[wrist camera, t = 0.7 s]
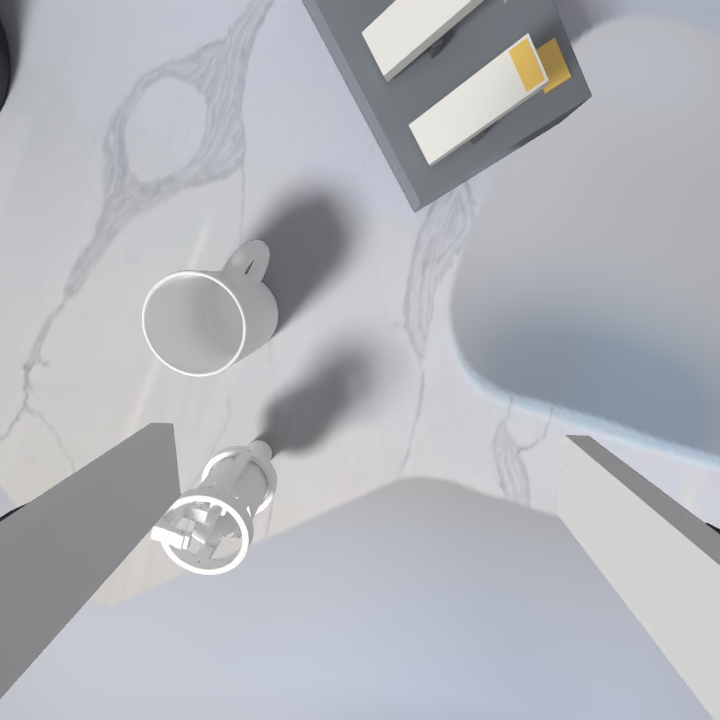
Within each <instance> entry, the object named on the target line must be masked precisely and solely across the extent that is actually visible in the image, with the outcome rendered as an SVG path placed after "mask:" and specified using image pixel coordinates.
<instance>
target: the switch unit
mask: <svg viewBox="0 0 720 720" xmlns="http://www.w3.org/2000/svg"><path fill="white" fill-rule="evenodd" d="M302 1H303V3H304V5H305V7H306V9H307V11H308V13H309V14H310V16H311V18H312V20H313V22H314V24H315V26H316V28H317V30H318V31H319V33H320V35H321V37H322V39H323V41H324V43H325V45H326V47H327V48H328V50H329V52H330V54H331V56H332V58H333V60H334V62H335V64H336V65H337V67H338V69H339V71H340V73H341V75H342V77H343V79H344V80H345V82H346V84H347V86H348V88H349V90H350V92H351V94H352V96H353V97H354V99H355V101H356V103H357V105H358V107H359V109H360V111H361V113H362V114H363V116H364V118H365V120H366V122H367V124H368V126H369V128H370V130H371V131H372V133H373V135H374V137H375V139H376V141H377V143H378V145H379V147H380V148H381V150H382V152H383V154H384V156H385V158H386V160H387V162H388V164H389V165H390V167H391V169H392V171H393V173H394V175H395V177H396V179H397V181H398V182H399V184H400V186H401V188H402V190H403V192H404V194H405V196H406V198H407V199H408V201H409V203H410V205H411V207H412V209H413V211H414V213H415V212H417V211H418V210H420V209H422V208H423V207H425V206H426V205H428V204H430V203H431V202H433V201H435V200H436V199H438V198H439V197H441V196H443V195H444V194H446V193H447V192H449V191H451V190H452V189H454V188H455V187H457V186H459V185H460V184H462V183H464V182H465V181H467V180H468V179H470V178H472V177H473V176H475V175H476V174H478V173H480V172H481V171H483V170H485V169H486V168H488V167H489V166H491V165H493V164H494V163H496V162H497V161H499V160H501V159H502V158H504V157H505V156H507V155H509V154H510V153H512V152H514V151H515V150H517V149H518V148H520V147H521V146H523V145H525V144H526V143H528V142H530V141H531V140H533V139H535V138H536V137H537V136H539V135H541V134H543V133H544V132H546V131H547V130H549V129H551V128H552V127H554V126H555V125H557V124H559V123H560V122H561V121H563V120H564V119H565V118H566V117H568V116H569V115H570V114H571V113H572V112H573V111H575V110H576V109H577V108H578V107H580V106H581V105H582V104H583V103H584V102H586V101H587V100H588V99H589V98H590V97H591V96H592V95H591V92H590V90H589V88H588V85H587V83H586V80H585V78H584V75H583V73H582V71H581V68H580V66H579V64H578V61H577V59H576V56H575V54H574V51H573V49H572V47H571V44H570V42H569V39H568V37H567V35H566V32H565V30H564V27H563V25H562V23H561V20H560V18H559V15H558V13H557V10H556V8H555V6H554V3H553V1H552V0H484V1H483V2H481V3H480V4H479V5H478V6H477V7H476V8H474V9H473V10H472V11H471V12H470V13H468V14H467V15H466V16H465V17H464V18H463V19H461V20H460V21H459V22H458V23H457V24H456V25H454V26H453V27H452V28H451V29H450V30H448V31H447V32H446V33H445V34H444V35H443V36H441V37H440V38H439V39H438V40H437V41H435V42H434V43H433V44H432V45H431V46H430V47H428V48H427V49H426V50H425V51H424V52H423V53H421V54H420V55H419V56H418V57H417V58H415V59H414V60H413V61H412V62H411V63H410V64H408V65H407V66H406V67H405V68H404V69H402V70H401V71H400V72H399V73H398V74H397V75H395V76H394V77H393V78H392V79H391V80H390V81H388V82H387V81H386V79H385V77H384V76H383V74H382V72H381V70H380V68H379V66H378V64H377V62H376V60H375V58H374V56H373V54H372V52H371V50H370V48H369V46H368V44H367V43H366V41H365V39H364V37H363V35H362V32H363V31H364V30H365V29H366V28H367V27H368V26H369V25H370V24H371V23H372V22H373V21H374V20H375V19H377V18H378V17H379V16H380V15H381V14H382V13H383V12H384V11H385V10H386V9H387V8H388V7H389V6H390V5H391V4H392V3H393V2H394V1H396V0H302ZM527 33H529V36H530V38H531V40H532V43H533V45H534V47H535V50H536V52H537V54H538V56H539V59H540V61H541V63H542V66H543V68H544V70H545V73H546V75H547V77H548V80H549V81H548V83H547V85H546V87H545V88H543V89H542V90H540V91H539V92H538V93H536V94H535V95H533V96H532V97H530V98H529V99H527V100H526V101H525V102H523V103H522V104H520V105H519V106H517V107H516V108H515V109H513V110H512V111H510V112H509V113H507V114H506V115H505V116H503V117H502V118H500V119H499V120H497V121H496V122H494V123H493V124H492V125H490V126H489V127H487V128H486V129H484V130H483V131H482V132H480V133H479V134H477V135H476V136H474V137H473V138H472V139H470V140H469V141H467V142H466V143H464V144H463V145H461V146H460V147H459V148H457V149H456V150H454V151H453V152H451V153H450V154H449V155H447V156H446V157H444V158H443V159H441V160H440V161H439V162H437V163H436V164H434V165H433V166H431V167H430V165H429V164H428V162H427V160H426V158H425V156H424V154H423V152H422V150H421V148H420V146H419V144H418V143H417V141H416V139H415V137H414V135H413V133H412V131H411V129H410V127H409V124H411V123H412V122H413V121H415V120H416V119H417V118H418V117H420V116H421V115H422V114H424V113H425V112H426V111H428V110H429V109H430V108H431V107H433V106H434V105H435V104H437V103H438V102H439V101H440V100H442V99H443V98H444V97H446V96H447V95H448V94H450V93H451V92H452V91H453V90H455V89H456V88H457V87H459V86H460V85H461V84H463V83H464V82H465V81H466V80H468V79H469V78H470V77H472V76H473V75H474V74H476V73H477V72H478V71H479V70H481V69H482V68H483V67H485V66H486V65H487V64H488V63H490V62H491V61H492V60H494V59H495V58H496V57H498V56H499V55H500V54H501V53H503V52H504V51H505V50H507V49H508V48H509V47H511V46H512V45H513V44H514V43H516V42H517V41H518V40H520V39H521V38H522V37H524V36H525V35H526V34H527Z"/></svg>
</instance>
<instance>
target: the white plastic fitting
mask: <svg viewBox="0 0 720 720" xmlns="http://www.w3.org/2000/svg"><path fill="white" fill-rule="evenodd" d="M222 458H223V459H222ZM271 458H272V450H271V447H270V446H269V445H268V444H267V443H265V442H263V441H260V440H256V441H253V442H251V443H249V444H248V446H247V447H244V446H233V447H228V448H225V449H223V450H221V451H220V452H218V453H217V454H216V455H215V456H214V457H213V458H212V459H211V460H210V461H209V462H208V464H207V465H206V467H205V469H204V471H203V474H202V483H201V484H200V485H199V487H198V488H195V489H191V490H188V491H186V492H184V493H182V494H181V496H180V497H179V498H178V499H177V500H176V502H175V503H174V504H173V505H172V506H171V507H170V508H169V509H168V511H167V512H166V513H165V514H164V515H163V516H162V517H161V518H160V520H159V521H158V522H157V523H156V524H155V525H154V527H153V529H152V534H151V539H153V540H156V541H160V542H161V543H162V546H163V548H164V549H165V551H166V553H167V554H168V555H169V556H170V558H171V559H172V560H173V561H175V562H176V563H177V564H178V565H180V566H181V567H183V568H185V569H187V570H189V571H192V572H195V573H199V574H205V575H213V574H220V573H224V572H226V571H229V570H231V569H233V568H234V567H236V566H237V565H238V564H239V563H240V562H241V560H242V559H243V558H244V556H245V554H246V552H247V550H248V548H249V546H250V544H251V541H252V538H253V523H252V519H253V517H254V515H255V514H257V513H259V512H261V511H262V510H263V509H265V508H266V507H267V506H268V504H269V503H270V501H271V499H272V497H273V495H274V493H275V490H276V486H277V476H276V472H275V469H274V467H273V465H272V464H271V462H270V460H271ZM220 459H222V460H221V461H220V462H219V463H218V464H217V465H216V467H215V468H214V469H213V466H214V464H215V463H216V462H217V461H218V460H220ZM212 469H213V470H212ZM268 487H269V492H268V495H267V496H266V497H265V498H264V496H265V494H266V492H267V490H268ZM263 498H264V499H263ZM197 501H203V502H204V503H203V505H201V504H200V505H197V504H195V503H196V502H197ZM183 517H185V518H188V519H191V520H194V521H196V523H195V525H194V529H193V531H192V532H189V531H185V530H182V529H179V528H176V527H175V526H176V525H177V524H178V523H179V521H180V520H181V519H182V518H183ZM192 536H193V537H194V538H196V539H197V540H198V541H200V542H202V543H203V544H202V546H201V548H200V549H199V551H198V552H197V554H196V555H195V554H193V553H191V552H190V551H188V550H187V548H188V547H189V545H190V541H191V537H192ZM223 536H232V537H231V540H230V541H233V540H236V539H238V538H239V537H241V536H242V547H241V548H240V549H239V550H238V551H237V552H236V553H235V554H233V555H231V556H229V557H226V558H222V559H210V558H211V556H212V555H213V553H214V551H215V549H216V548H217V546H218V544H219V543H220V541H221V539H222V538H223Z"/></svg>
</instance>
